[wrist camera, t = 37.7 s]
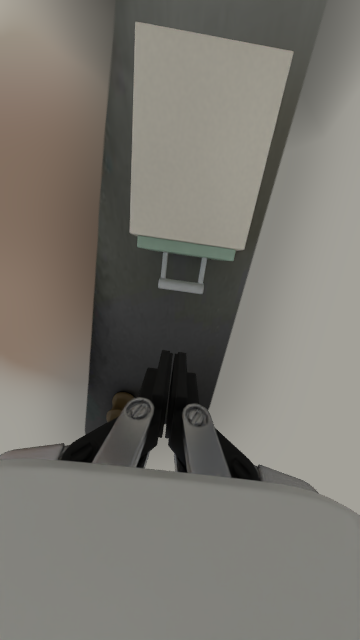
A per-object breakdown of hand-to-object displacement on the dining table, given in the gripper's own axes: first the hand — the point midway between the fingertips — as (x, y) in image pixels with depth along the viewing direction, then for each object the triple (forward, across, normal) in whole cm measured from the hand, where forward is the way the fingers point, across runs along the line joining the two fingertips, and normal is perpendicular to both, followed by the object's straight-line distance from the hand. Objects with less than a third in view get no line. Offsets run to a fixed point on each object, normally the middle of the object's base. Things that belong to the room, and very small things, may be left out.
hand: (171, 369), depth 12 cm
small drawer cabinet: (+19, 0, -16) cm, 25 cm away
